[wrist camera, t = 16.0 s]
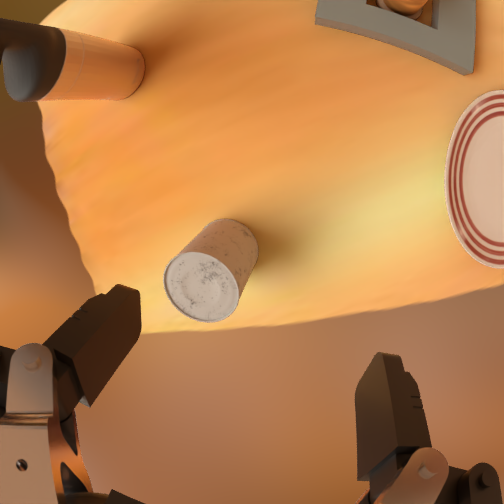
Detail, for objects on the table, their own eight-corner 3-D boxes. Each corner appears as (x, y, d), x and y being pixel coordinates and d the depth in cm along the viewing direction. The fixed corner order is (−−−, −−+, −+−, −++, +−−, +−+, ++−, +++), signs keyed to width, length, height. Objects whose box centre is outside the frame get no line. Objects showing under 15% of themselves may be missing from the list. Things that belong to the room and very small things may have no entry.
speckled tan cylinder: (267, 269, 46) (251, 316, 35) (212, 282, 49) (183, 327, 38) (245, 210, 43) (220, 242, 32) (188, 228, 46) (150, 262, 35)
